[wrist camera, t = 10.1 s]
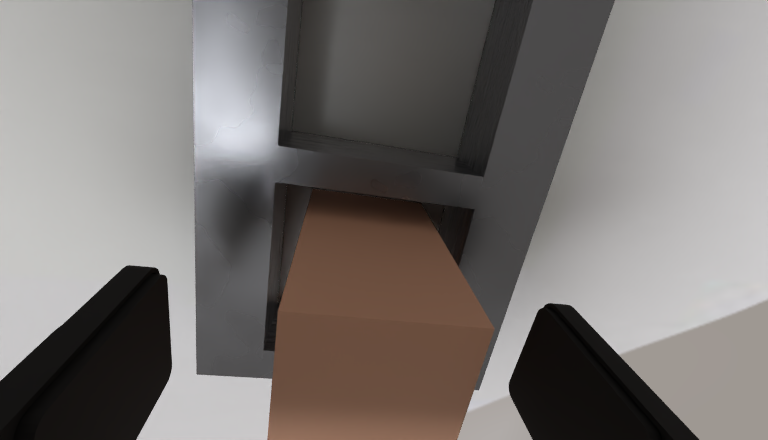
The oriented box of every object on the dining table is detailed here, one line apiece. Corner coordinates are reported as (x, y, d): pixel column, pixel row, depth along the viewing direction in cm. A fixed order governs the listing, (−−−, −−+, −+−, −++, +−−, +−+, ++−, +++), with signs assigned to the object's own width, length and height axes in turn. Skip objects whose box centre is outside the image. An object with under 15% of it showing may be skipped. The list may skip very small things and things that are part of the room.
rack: (240, -612, 8) (181, -1000, 5) (684, -409, 9) (828, -613, 7) (222, 322, 16) (196, 374, 13) (458, 340, 18) (478, 390, 15)
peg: (312, 188, 14) (278, 311, 7) (420, 203, 15) (494, 329, 8) (302, 284, 16) (264, 469, 8) (400, 293, 16) (446, 472, 9)
